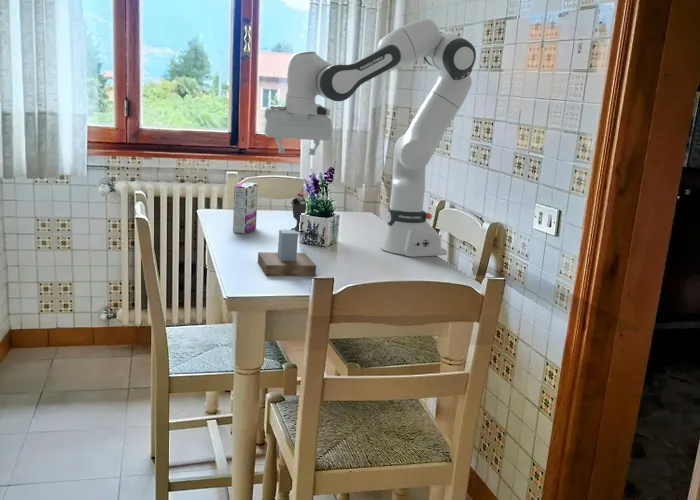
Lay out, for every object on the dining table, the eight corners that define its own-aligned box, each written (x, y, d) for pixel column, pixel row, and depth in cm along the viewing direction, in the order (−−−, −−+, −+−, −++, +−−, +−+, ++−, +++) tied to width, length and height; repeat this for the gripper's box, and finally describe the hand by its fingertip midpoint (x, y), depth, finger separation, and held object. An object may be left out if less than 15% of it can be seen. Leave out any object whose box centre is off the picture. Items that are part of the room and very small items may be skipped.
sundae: (303, 227, 248) (306, 188, 244) (309, 232, 242) (312, 191, 238) (286, 227, 245) (289, 187, 242) (291, 231, 239) (294, 190, 236)
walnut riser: (304, 262, 199) (304, 252, 199) (315, 275, 186) (316, 265, 186) (257, 262, 195) (258, 252, 194) (265, 275, 182) (266, 265, 181)
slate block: (292, 256, 193) (294, 230, 191) (296, 261, 189) (298, 233, 187) (277, 256, 191) (279, 229, 190) (280, 260, 187) (282, 233, 185)
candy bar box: (243, 226, 240) (245, 181, 236) (256, 228, 239) (258, 183, 236) (231, 232, 230) (233, 185, 226) (245, 234, 229) (247, 187, 225)
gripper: (267, 105, 192) (264, 153, 195) (335, 110, 198) (331, 157, 202) (263, 104, 198) (261, 150, 201) (329, 109, 204) (326, 154, 208)
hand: (296, 154), depth 202 cm, fingers open, 8 cm apart
